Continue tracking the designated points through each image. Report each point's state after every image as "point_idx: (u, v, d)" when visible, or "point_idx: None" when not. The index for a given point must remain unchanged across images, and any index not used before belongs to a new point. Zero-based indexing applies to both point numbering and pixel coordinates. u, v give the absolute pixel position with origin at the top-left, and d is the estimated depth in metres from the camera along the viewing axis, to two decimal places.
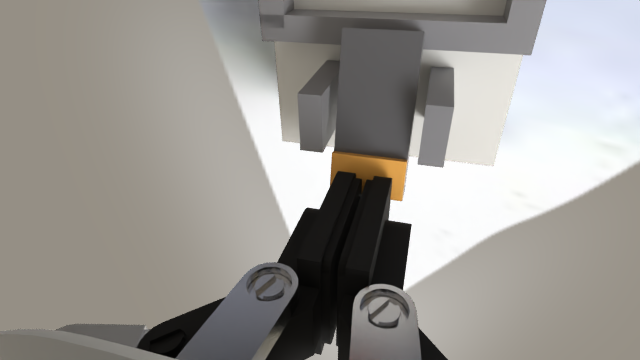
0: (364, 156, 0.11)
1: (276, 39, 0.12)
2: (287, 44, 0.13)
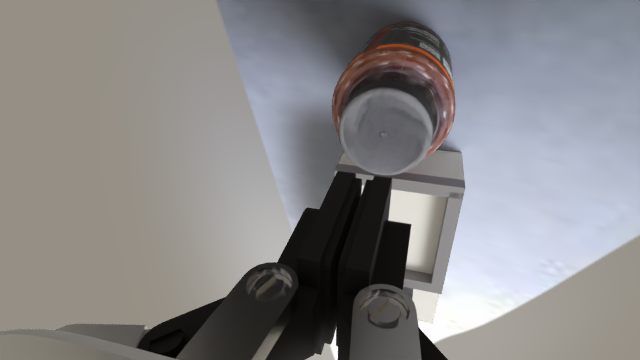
0: None
1: None
2: None
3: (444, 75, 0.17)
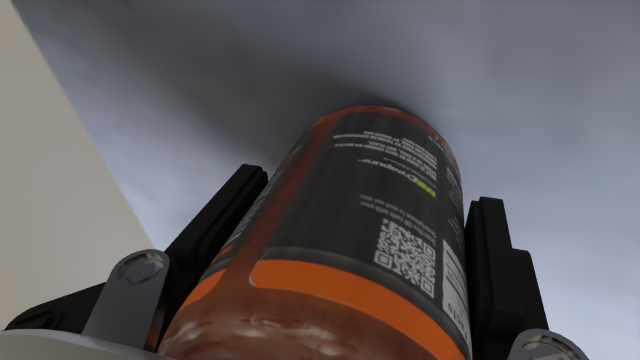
0: None
1: None
2: None
3: None
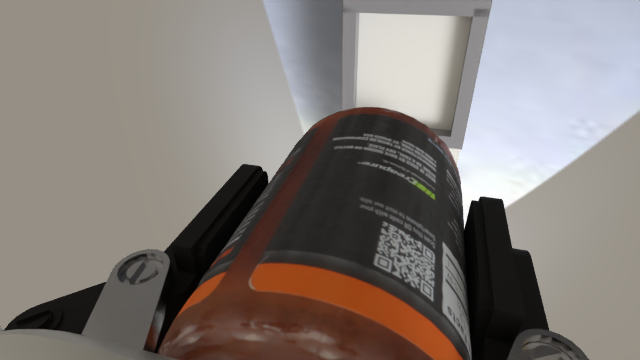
0: None
1: None
2: None
3: None
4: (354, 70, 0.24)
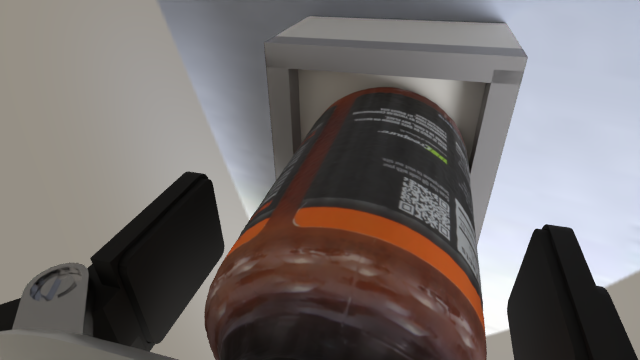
0: None
1: None
2: None
3: (461, 311, 0.07)
4: None
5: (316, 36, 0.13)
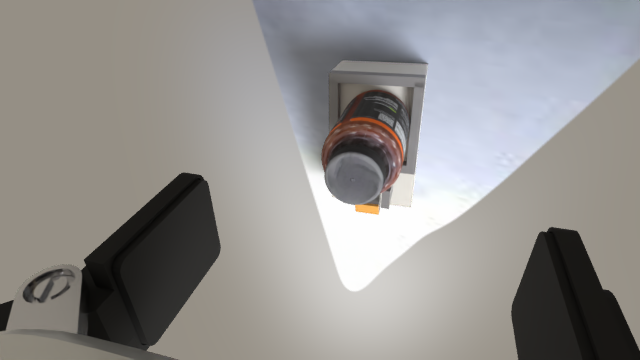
0: (365, 204, 0.37)
1: None
2: None
3: (393, 139, 0.26)
4: (337, 120, 0.35)
5: (348, 70, 0.34)
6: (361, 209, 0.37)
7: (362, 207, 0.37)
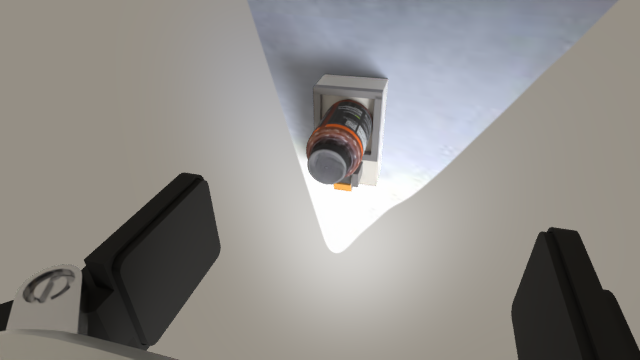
0: (341, 183, 0.49)
1: None
2: None
3: (354, 139, 0.39)
4: None
5: (328, 84, 0.45)
6: (338, 187, 0.50)
7: (339, 186, 0.49)
